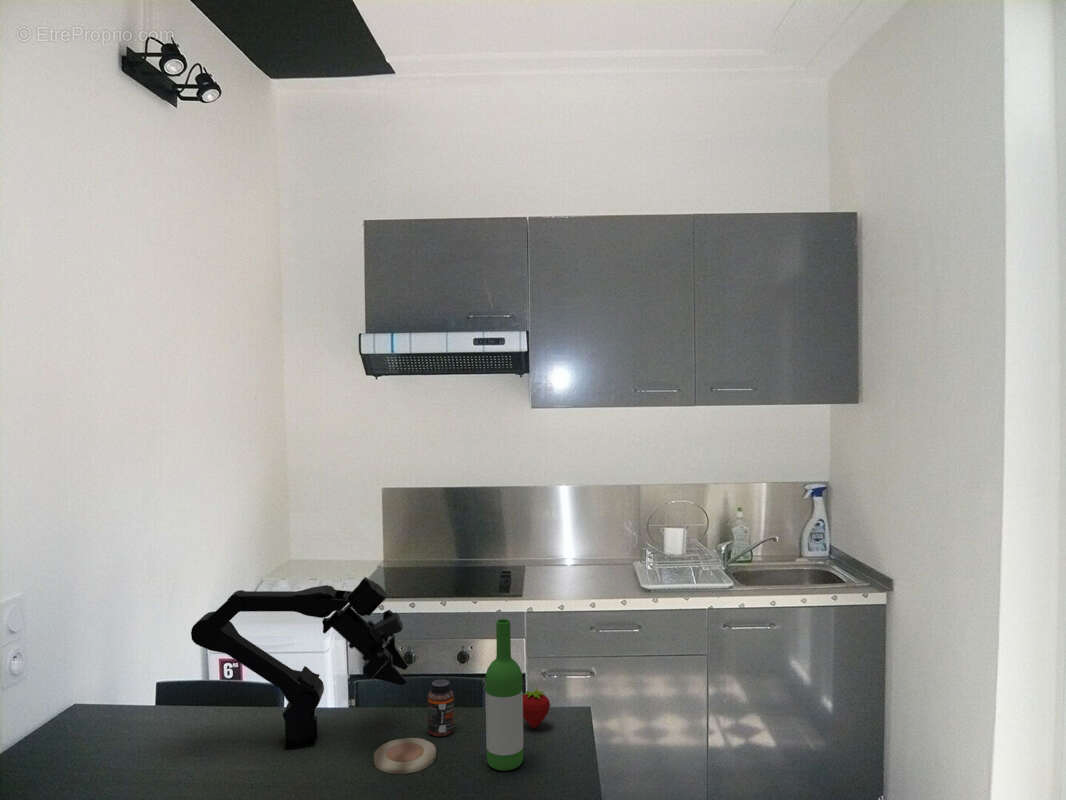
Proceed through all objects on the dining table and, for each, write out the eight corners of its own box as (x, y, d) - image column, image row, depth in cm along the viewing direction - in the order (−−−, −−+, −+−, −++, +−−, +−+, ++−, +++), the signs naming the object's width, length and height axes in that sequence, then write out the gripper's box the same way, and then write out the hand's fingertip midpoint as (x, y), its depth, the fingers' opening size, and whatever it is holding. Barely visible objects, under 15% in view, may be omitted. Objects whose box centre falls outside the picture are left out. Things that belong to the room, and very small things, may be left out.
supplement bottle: (449, 738, 165) (448, 688, 165) (424, 736, 167) (423, 686, 166) (457, 726, 171) (456, 678, 171) (433, 724, 172) (432, 676, 172)
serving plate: (375, 777, 149) (375, 771, 149) (372, 747, 162) (372, 741, 162) (439, 768, 152) (439, 762, 152) (432, 739, 165) (431, 734, 165)
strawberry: (519, 721, 174) (518, 679, 173) (551, 722, 173) (550, 679, 173) (516, 733, 168) (515, 689, 168) (549, 734, 167) (549, 690, 167)
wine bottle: (489, 774, 150) (487, 627, 149) (484, 756, 157) (482, 616, 157) (526, 770, 151) (525, 625, 151) (519, 752, 159) (518, 613, 158)
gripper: (377, 616, 157) (430, 664, 159) (383, 592, 176) (431, 636, 178) (340, 655, 156) (394, 703, 158) (350, 627, 175) (398, 670, 177)
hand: (405, 675), depth 168 cm, fingers open, 9 cm apart
